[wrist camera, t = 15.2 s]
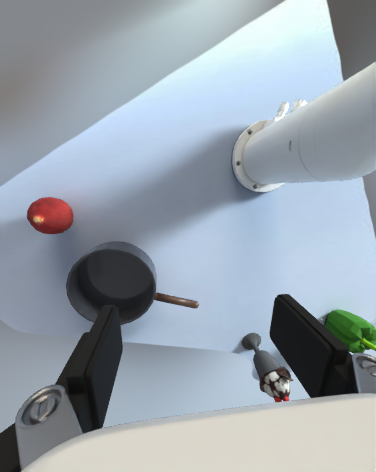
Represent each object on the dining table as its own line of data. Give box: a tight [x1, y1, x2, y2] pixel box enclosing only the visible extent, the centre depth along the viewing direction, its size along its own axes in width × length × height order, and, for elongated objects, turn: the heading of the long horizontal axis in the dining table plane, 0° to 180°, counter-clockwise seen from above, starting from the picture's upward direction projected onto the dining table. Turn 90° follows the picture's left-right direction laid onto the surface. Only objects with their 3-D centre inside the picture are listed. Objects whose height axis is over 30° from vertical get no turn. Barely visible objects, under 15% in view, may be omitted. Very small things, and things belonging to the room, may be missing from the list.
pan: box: [66, 242, 156, 325], centre depth 35 cm, size 15×15×4 cm
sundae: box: [242, 333, 293, 402], centre depth 39 cm, size 7×7×15 cm
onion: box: [27, 197, 73, 234], centre depth 29 cm, size 6×6×8 cm
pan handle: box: [154, 293, 199, 308], centre depth 36 cm, size 9×1×1 cm, turn 71°
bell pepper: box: [325, 310, 376, 353], centre depth 44 cm, size 8×8×10 cm
